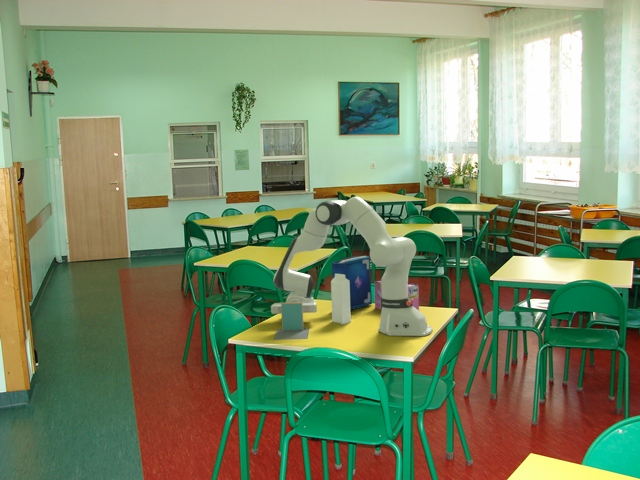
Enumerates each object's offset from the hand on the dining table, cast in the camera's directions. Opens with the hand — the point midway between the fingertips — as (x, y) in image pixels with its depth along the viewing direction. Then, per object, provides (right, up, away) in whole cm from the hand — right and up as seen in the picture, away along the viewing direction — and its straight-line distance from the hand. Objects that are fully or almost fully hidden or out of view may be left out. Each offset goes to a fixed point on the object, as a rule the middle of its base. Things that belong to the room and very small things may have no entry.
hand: (292, 311), depth 280 cm
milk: (+21, -6, +11) cm, 25 cm away
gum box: (+49, -3, +31) cm, 57 cm away
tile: (0, -8, -2) cm, 8 cm away
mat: (0, -9, -8) cm, 12 cm away
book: (+28, -3, +39) cm, 48 cm away
